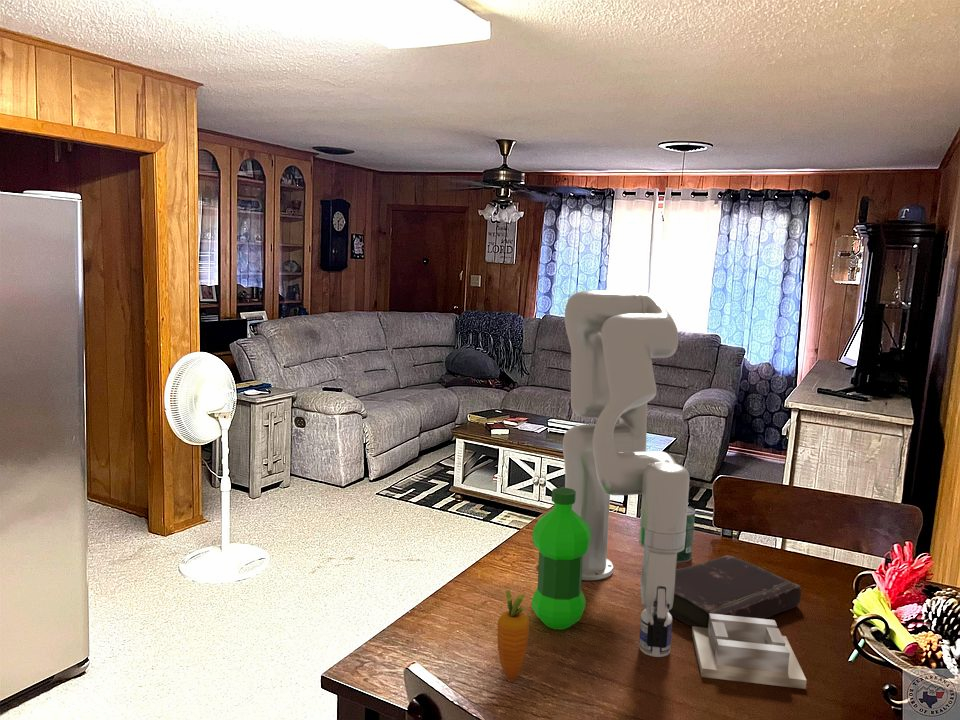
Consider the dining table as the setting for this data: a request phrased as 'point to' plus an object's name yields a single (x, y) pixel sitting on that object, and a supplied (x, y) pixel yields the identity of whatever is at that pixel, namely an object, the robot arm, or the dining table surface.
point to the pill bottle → (643, 635)
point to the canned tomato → (688, 537)
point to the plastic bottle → (560, 562)
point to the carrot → (512, 637)
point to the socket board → (744, 673)
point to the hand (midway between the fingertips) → (655, 636)
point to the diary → (730, 591)
